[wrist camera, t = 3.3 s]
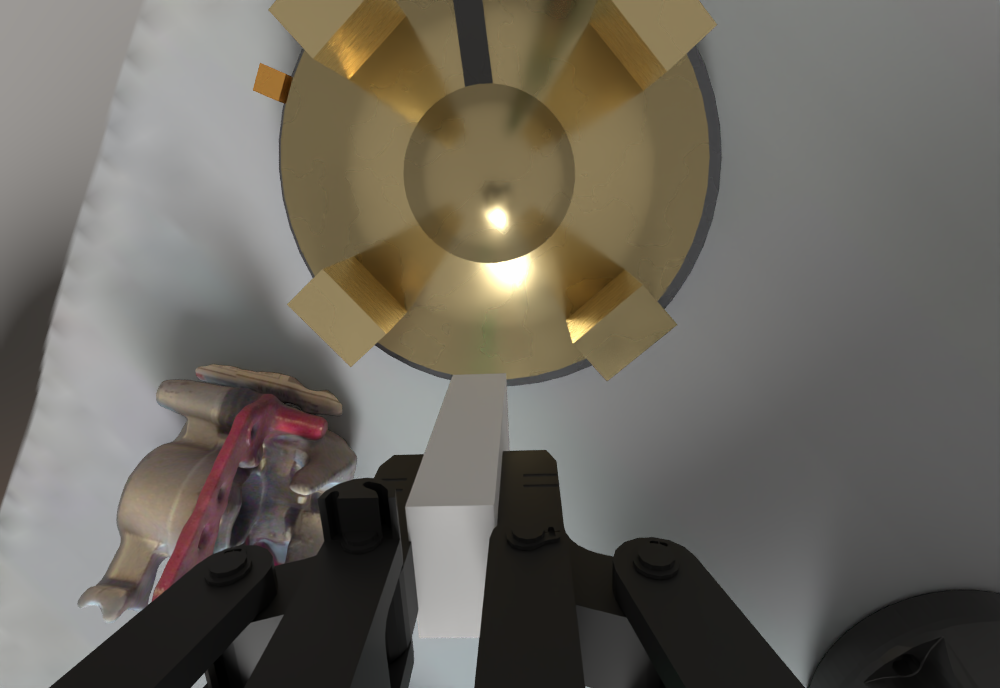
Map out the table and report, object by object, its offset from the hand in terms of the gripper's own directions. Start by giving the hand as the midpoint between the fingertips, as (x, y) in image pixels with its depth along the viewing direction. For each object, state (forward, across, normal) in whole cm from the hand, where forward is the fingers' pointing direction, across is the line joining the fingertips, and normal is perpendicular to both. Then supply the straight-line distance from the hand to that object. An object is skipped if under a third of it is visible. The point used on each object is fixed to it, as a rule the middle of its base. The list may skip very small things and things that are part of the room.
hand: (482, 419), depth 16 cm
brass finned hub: (+10, 0, -7) cm, 12 cm away
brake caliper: (+13, +13, +8) cm, 20 cm away
